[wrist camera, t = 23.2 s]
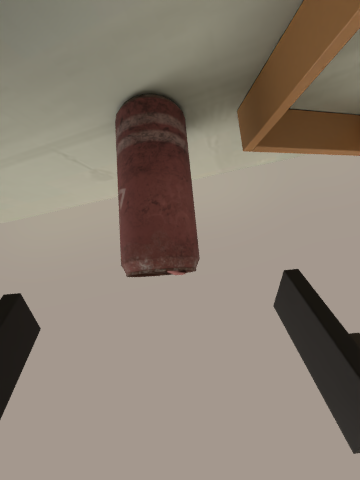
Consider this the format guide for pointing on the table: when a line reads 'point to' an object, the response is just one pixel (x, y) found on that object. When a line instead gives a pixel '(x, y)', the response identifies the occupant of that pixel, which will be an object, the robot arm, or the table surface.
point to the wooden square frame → (302, 86)
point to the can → (155, 189)
